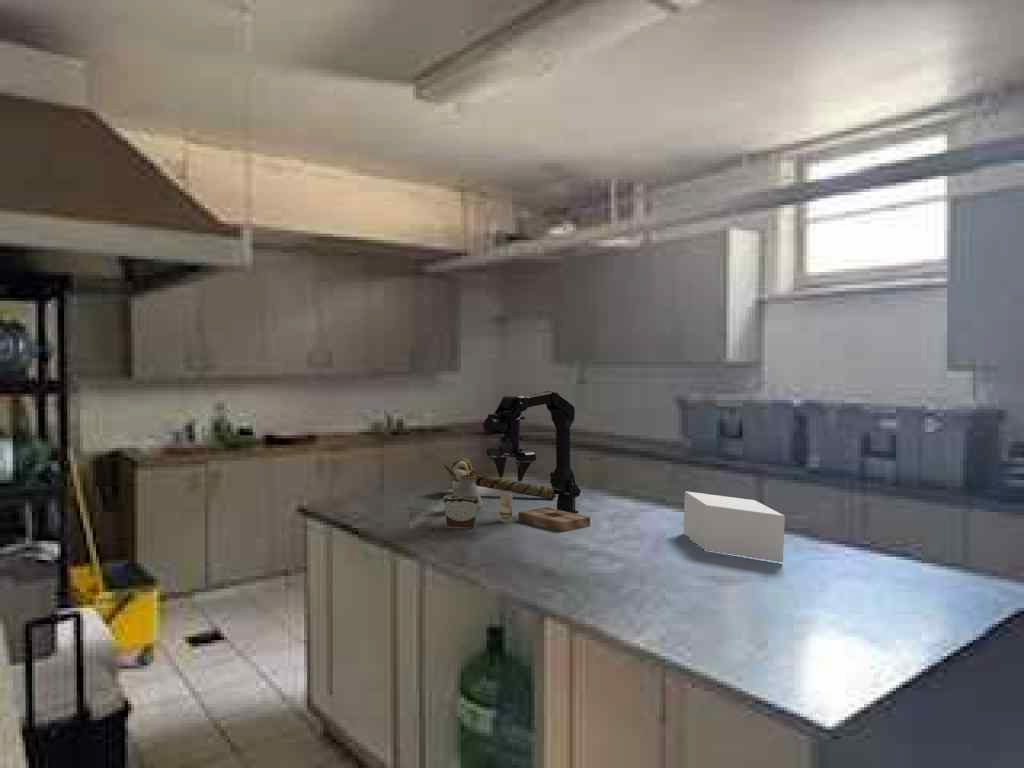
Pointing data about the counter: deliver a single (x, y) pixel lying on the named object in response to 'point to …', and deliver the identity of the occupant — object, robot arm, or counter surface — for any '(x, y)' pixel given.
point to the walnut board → (554, 519)
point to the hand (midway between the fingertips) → (510, 479)
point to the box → (734, 526)
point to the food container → (460, 510)
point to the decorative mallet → (496, 482)
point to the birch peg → (506, 508)
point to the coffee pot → (467, 486)
